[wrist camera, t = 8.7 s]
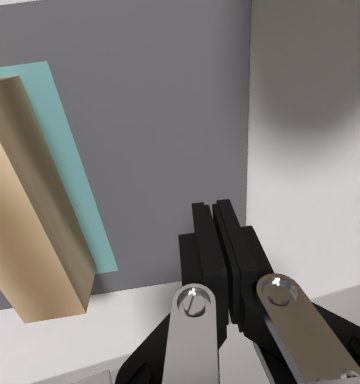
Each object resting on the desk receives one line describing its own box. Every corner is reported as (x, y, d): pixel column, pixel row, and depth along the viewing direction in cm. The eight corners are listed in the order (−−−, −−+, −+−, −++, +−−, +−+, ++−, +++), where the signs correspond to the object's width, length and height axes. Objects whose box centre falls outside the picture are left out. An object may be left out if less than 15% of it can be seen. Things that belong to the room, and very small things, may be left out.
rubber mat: (249, -26, 12) (251, -27, 12) (243, 267, 23) (244, 270, 22) (-370, 53, 11) (-382, 53, 11) (-82, 320, 22) (-85, 323, 22)
